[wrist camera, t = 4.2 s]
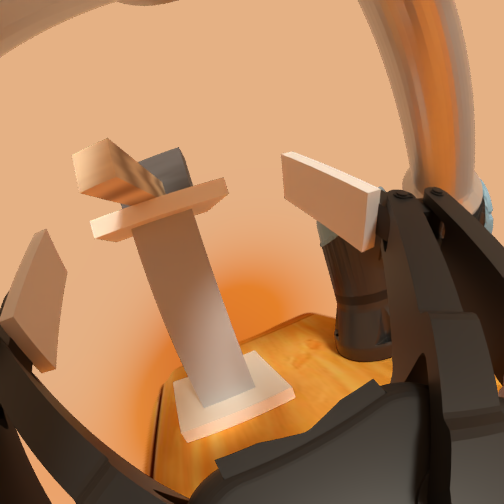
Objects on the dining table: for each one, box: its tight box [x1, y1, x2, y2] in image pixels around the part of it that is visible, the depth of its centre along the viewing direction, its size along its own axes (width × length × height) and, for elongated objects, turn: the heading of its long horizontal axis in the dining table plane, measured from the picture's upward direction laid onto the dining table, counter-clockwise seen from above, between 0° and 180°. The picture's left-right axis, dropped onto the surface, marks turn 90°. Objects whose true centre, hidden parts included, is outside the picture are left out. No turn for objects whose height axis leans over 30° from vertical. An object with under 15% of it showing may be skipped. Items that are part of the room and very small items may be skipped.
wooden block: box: [72, 138, 193, 209], centre depth 30 cm, size 27×10×7 cm, turn 6°
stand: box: [90, 178, 296, 443], centre depth 39 cm, size 16×16×30 cm
